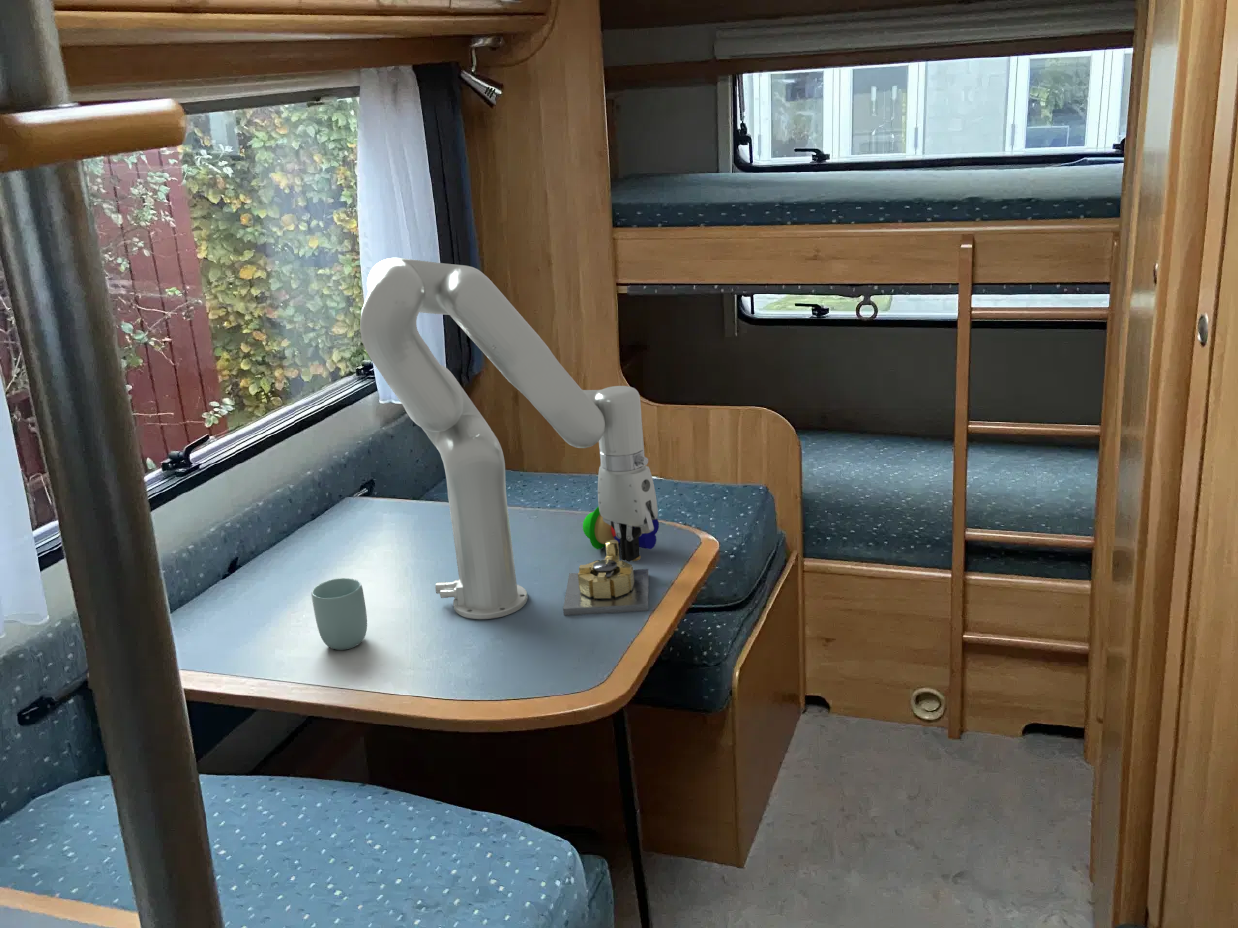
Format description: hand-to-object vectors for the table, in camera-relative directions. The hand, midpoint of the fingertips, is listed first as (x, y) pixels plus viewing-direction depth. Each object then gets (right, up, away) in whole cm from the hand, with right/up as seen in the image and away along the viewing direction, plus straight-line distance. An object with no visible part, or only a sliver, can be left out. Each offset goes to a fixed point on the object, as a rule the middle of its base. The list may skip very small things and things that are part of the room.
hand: (630, 558), depth 196 cm
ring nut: (-4, -4, -3) cm, 6 cm away
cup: (-46, -13, -15) cm, 50 cm away
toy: (-2, 0, +13) cm, 13 cm away
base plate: (-4, -6, -5) cm, 8 cm away
